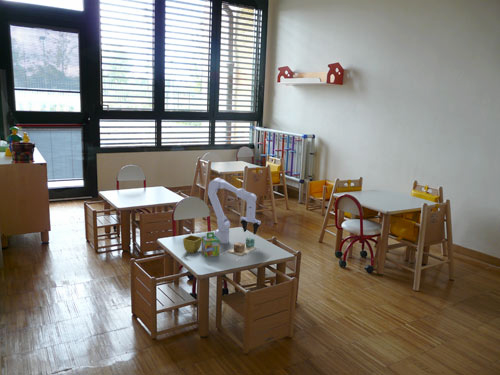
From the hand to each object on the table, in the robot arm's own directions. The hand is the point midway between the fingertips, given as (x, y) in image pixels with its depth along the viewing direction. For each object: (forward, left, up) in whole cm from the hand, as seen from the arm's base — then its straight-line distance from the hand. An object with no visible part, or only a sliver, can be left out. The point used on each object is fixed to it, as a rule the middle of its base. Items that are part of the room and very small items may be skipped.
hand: (249, 232), depth 277 cm
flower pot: (-24, -29, -10) cm, 39 cm away
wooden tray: (+1, -10, -10) cm, 14 cm away
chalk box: (-11, -28, -10) cm, 32 cm away
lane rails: (+1, -14, -10) cm, 18 cm away
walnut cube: (+1, -14, -8) cm, 17 cm away
